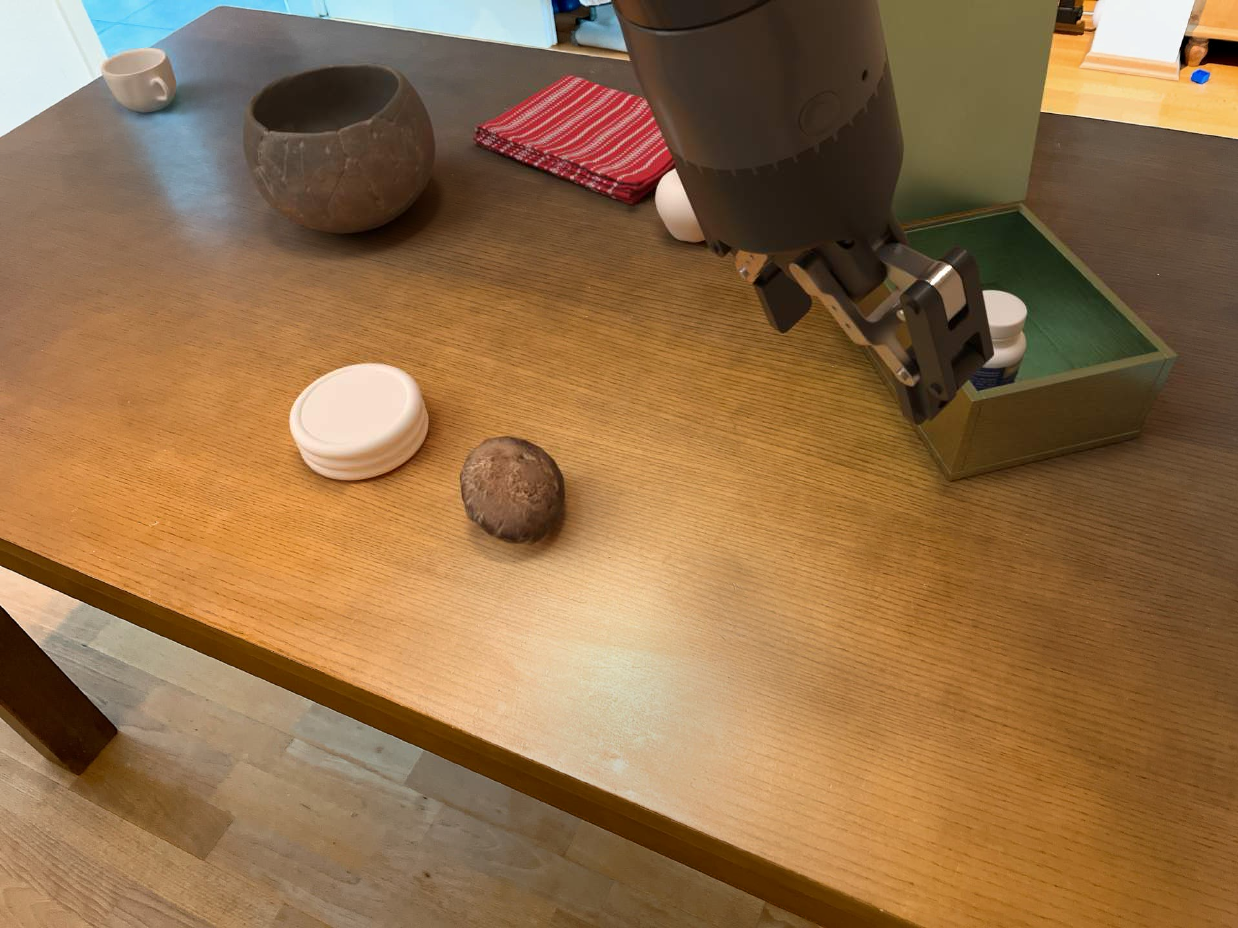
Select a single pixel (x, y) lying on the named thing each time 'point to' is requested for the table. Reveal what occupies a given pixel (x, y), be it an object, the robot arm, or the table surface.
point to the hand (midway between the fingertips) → (856, 360)
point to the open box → (1037, 351)
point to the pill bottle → (1002, 340)
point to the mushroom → (512, 490)
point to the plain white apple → (677, 209)
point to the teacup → (141, 79)
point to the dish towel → (584, 138)
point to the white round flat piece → (359, 421)
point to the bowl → (339, 146)
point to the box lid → (966, 99)
